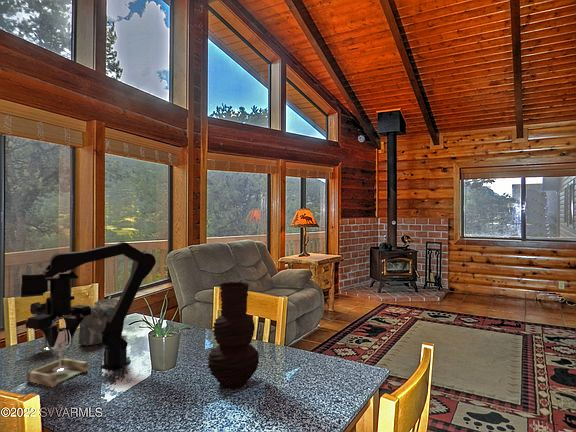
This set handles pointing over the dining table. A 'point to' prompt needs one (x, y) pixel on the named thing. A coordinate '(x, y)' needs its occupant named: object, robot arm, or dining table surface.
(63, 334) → the wineglass
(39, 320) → the robot arm
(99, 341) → the rock
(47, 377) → the u rest
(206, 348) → the dining table surface
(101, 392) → the dining table surface
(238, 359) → the vase
